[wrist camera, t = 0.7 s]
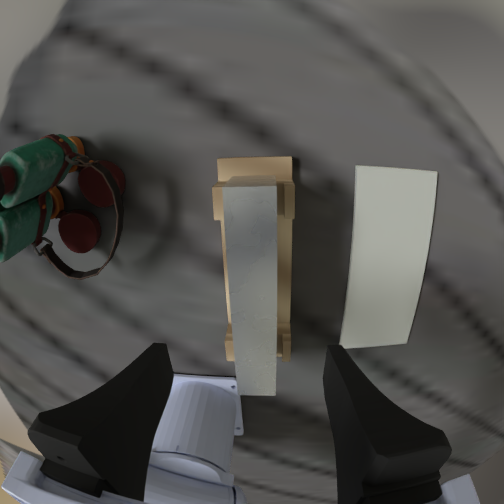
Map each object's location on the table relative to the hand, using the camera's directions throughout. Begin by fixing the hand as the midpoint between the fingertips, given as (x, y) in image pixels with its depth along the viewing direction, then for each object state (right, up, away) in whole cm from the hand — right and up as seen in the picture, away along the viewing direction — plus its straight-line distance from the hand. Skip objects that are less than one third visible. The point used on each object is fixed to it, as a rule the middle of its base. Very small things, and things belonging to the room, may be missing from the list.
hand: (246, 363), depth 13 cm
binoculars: (-12, +9, +9) cm, 18 cm away
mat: (+11, +4, +9) cm, 14 cm away
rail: (+1, +3, +8) cm, 8 cm away
